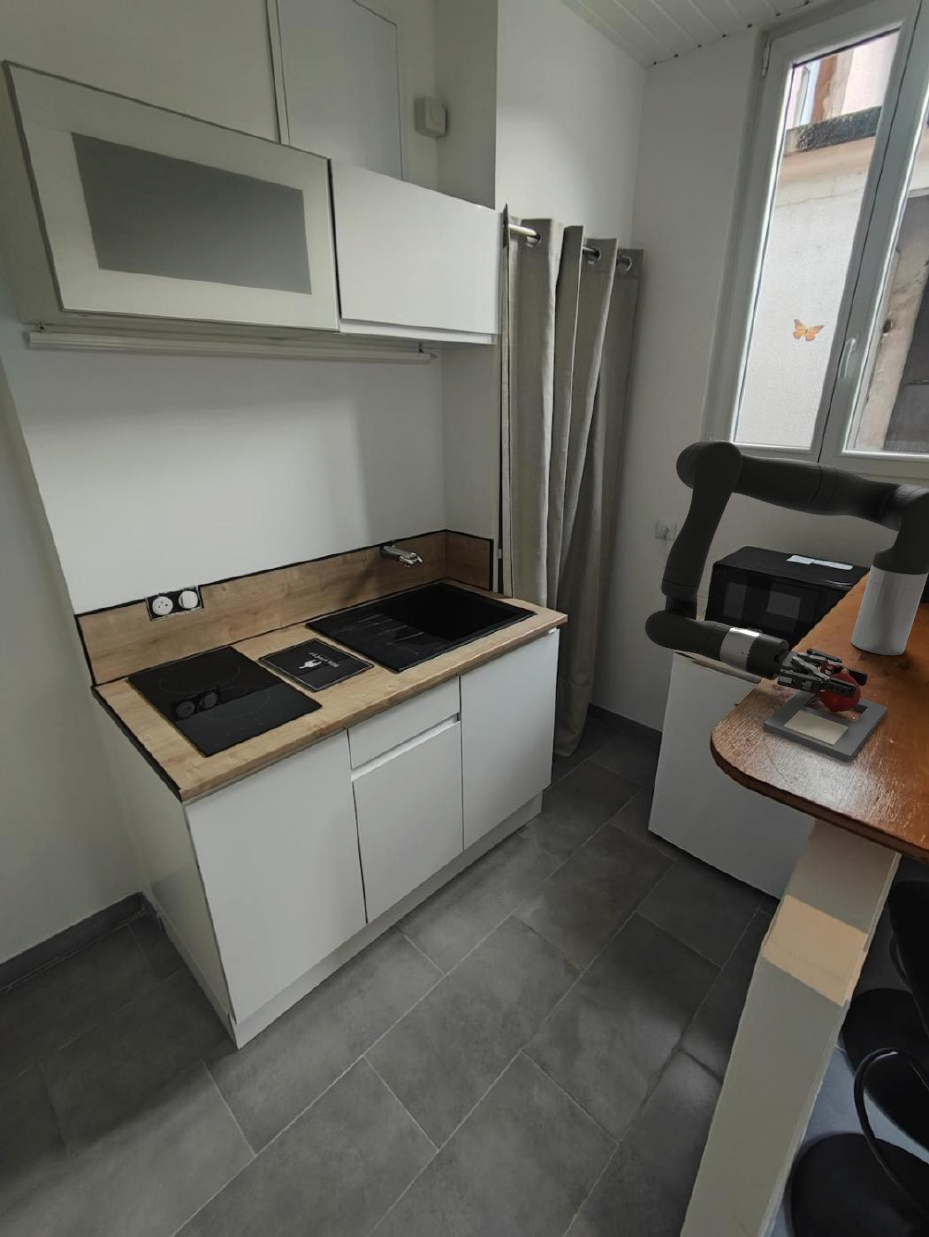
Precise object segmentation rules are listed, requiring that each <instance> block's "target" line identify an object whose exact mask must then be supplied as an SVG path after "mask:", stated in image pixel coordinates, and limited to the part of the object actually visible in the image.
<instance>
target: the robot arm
mask: <svg viewBox="0 0 929 1237" xmlns="http://www.w3.org/2000/svg"><path fill="white" fill-rule="evenodd" d="M675 470H676V473H677V476H678V478H679V480H680V481H681V482H682V484H684V485H685V486H686V487H688V488H690V489H691V490H692V494H691V500H690V505H689V509H688V512H687V515H686V518H685V520H684V523H683V524H682V526H681V529H680V530H679V532H678V534H677V536H676V538H675V540H674V541H673V543H672V546H671V548H670V550H669V553H668V555H667V559H666V562H665V563H666V564H665V567H664V572H663V575H662V579H661V584H660V591H661V593H662V595H664V596H665V606H664V609H663V610H662V609H661V610H657V611H655V612H653V613H652V614H650V615H649V616H648V617H647V619H646V621H645V624H644V632H645V635H646V636H647V637H648V639H649V640H650V641H651V642H652V643H653V644H656V645H657V646H660V647H663V648H666V649H669V650H675V651H679V652H683V653H689V654H690V653H692V654H696V655H699V656H701V657H705V658H707V659H711V660H713V661H716V662H719V663H723V664H725V665H727V666H729V667H731V668H733V669H736V670H738V671H742V672H745V673H748V674H751V675H754V676H757V677H760V678H763V679H766V680H768V681H774V680H776V679H777V681H776V682H777V683H776V684H777V685H778V686H780V687H781V686H782V687H786V688H790V689H794V690H799V691H800V690H801V691H805V692H809V693H813V694H818V692H819V691H822V692H826V690H827V691H830V692H833V693H836V694H839V695H842V696H845V697H848V698H853V697H854V696H855V695H856V691H857V686H856V685H855V684H852V683H848V682H845V681H842V680H839V679H836V678H831V679H830V677H829V676H831V675H834V674H838V673H840V672H841V671H842V669H844V668H845V669H847V670H848V671H849V672H848V674H849V675H850V676H851V677H852V678H853V679H854V680H855V681H856V682H857V683H858V685H859V687H864V686H865V685H867V682H868V678H869V674H868V672H866V671H861V670H857V669H854V668H851V667H847V666H844V664H843V659H841V658H840V657H836V656H834V655H832V654H828V653H825V652H823V651H821V650H818V649H815V648H812V647H807V648H806V652H801V651H793V650H791V649H790V648H789V647H790V645H789V642H788V641H787V640H785V639H783V638H780V637H776V636H773V635H769V634H765V633H761V632H758V631H755V630H752V629H747V628H740V627H737V626H732V625H730V624H726V623H722V622H718V621H713V620H697V616H698V593H699V590H700V586H701V584H702V583H701V582H702V578H703V574H704V571H705V567H706V562H707V560H708V555H709V553H710V549H711V545H712V543H713V540H714V537H715V536H716V535H715V534H716V532H717V529H718V526H719V524H720V521H721V520H722V517H723V515H724V512H725V510H726V506H727V505H728V502H729V501H730V498H731V496H732V493H733V494H738V495H743V496H746V497H750V498H752V499H755V500H758V501H761V502H764V503H767V504H770V505H773V506H776V507H781V508H782V509H788V510H792V511H796V512H801V513H804V514H805V513H806V514H809V515H810V514H811V515H817V516H827V517H831V516H832V517H834V516H835V517H836V516H837V517H838V516H847V517H848V516H849V517H854V518H858V519H862V520H865V521H868V522H870V523H874V524H877V525H879V526H882V527H884V528H887V529H888V530H892V531H894V532H898V533H897V535H896V538H895V540H894V543H893V544H892V546H891V547H889V548H881V549H878V550H877V551H876V552H875V554H874V556H873V559H872V563H871V566H870V571H869V574H868V578H867V583H866V586H865V588H864V593H863V596H862V600H861V604H860V607H859V611H858V615H857V619H856V622H855V625H854V629H853V633H852V637H851V640H850V643H851V644H852V645H853V646H854V647H856V648H858V649H860V650H863V651H864V652H865V651H866V652H869V653H871V654H872V653H873V654H875V655H876V654H877V655H883V656H899V655H903V653H905V649H906V646H907V643H908V639H909V636H910V634H911V630H912V627H913V624H914V620H915V617H916V614H917V611H918V607H919V606H920V605H919V604H920V603H921V602H920V601H921V598H922V594H923V591H924V589H925V586H926V582H927V578H928V575H929V486H925V485H922V484H921V485H920V484H915V483H904V482H903V483H902V482H901V483H900V482H888V481H879V480H872V479H867V478H864V477H861V476H860V475H857V474H854V473H853V472H850V471H848V470H846V469H842V468H840V467H836V466H833V465H829V464H825V463H824V464H823V463H820V462H815V461H809V460H801V459H795V458H785V457H783V458H782V457H781V458H780V457H765V456H764V457H762V456H755V455H750V454H747V453H746V454H745V453H742V452H741V450H740V449H739V448H738V447H737V446H736V445H735V444H734V443H732V442H731V441H728V440H722V439H721V440H720V439H715V440H714V439H713V440H711V439H710V440H699V441H696V442H694V443H692V444H690V445H689V446H687V447H685V448H684V449H683V450H682V451H681V452H680V453H679V455H678V457H677V459H676V463H675Z"/></svg>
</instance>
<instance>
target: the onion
mask: <svg viewBox="0 0 929 1237" xmlns="http://www.w3.org/2000/svg"><path fill="white" fill-rule="evenodd" d="M848 672H849V671H848V670H847V669H845V668H844V669H842V671H841V672H840V673H838V674H834V675H831V676H829V677H830V679H831V678H836V679H839V680H842V681H845V682H848V683H852V684H855V685H856V686H857V691H856V695H855V696H854V697H853V698H848V697H845V696H842V695H839V694H836V693H833V692H830V691H827V690H826V692H822V691H819V697H818V698H819V700H820V701H821V703H822V704H823V706H824V707H825V708H827V709H828V710H829V711H830V712H831V713H835V714H837V713H842V712H847V711H850V710H853V707H854V706H855V705H857V703H858V702H859V700H860V698H861V688H860V687H861V686H859V685H858V683H857V682H856V681H855V680H854V679H853V678H852V677H851V676H850V675H849V674H848Z"/></svg>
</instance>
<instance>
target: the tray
mask: <svg viewBox="0 0 929 1237" xmlns="http://www.w3.org/2000/svg"><path fill="white" fill-rule="evenodd" d="M816 698H819V692H818V694H813V693H809V692H805V691H801V690H799V691H797V692H796V693H795V694H794V695H793V696H792V697H791V698H790V699H788V701H787V702H785V703H784V704H782V706H781V707H780V708H779V709H778V710H777V711H775V712H774V713H773V714H772V715H771V716H770V717H769V718H768V719H767V720H766V721H765V722H764V723H763V726H762V730H764V731H766V732H769V733H771V734H774V735H775V736H778V737H781V738H784V739H786V740H790V741H791V742H794V743H796V744H799V745H801V746H804V747H807V748H810V749H813V750H815V751H817V752H819V753H822V754H825V755H826V756H827V755H828V756H830V757H831V758H832V757H833V758H835V759H837V760H841V761H843V762H845V763H848V764H849V763H850V761H851V760H852V759H853V757H854V756H855V755H856V753H857V752H858V751H859V750H860V748H861V747H862V745H863V744H864V743H865V742H866V741H867V739H868V738H869V736H870V735H871V734H872V732H873V731H874V730H875V728H876V727H877V726H878V725H879V723H880V722H881V720H882V719H883V718H884V717H885V715H886V713H887V712H888V708H889V706H885V705H882V704H878V703H876V702H872V701H870V700H866V699H863V698H861V697H860V700H859V702H858V703H857V705H855V706H854V707H853V708H852V710H856V711H858V712H862V713H861V715H860V716H859V717H858V718H857V720H856V721H855V722H851V721H849V720H845V719H843V718H840V717H837V716H834V715H831V714H827V713H825V712H822V711H819V710H816V709H813V708H811V707H808V706H809V705H810V704H811V703H812V702H814V701H815V699H816Z"/></svg>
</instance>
